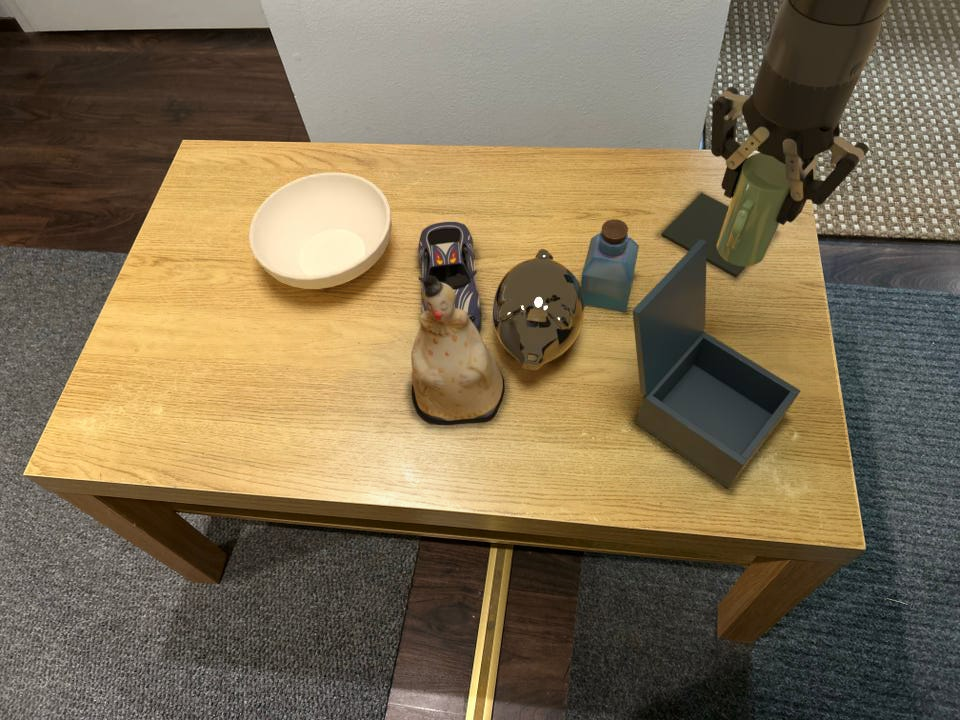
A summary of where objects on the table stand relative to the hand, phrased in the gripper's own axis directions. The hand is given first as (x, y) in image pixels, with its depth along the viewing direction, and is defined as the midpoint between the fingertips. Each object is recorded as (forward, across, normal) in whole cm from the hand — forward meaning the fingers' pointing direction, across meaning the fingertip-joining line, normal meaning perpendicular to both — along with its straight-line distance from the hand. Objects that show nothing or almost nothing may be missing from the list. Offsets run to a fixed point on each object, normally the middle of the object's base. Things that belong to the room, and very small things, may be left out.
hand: (757, 204), depth 69 cm
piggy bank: (+23, +16, +15) cm, 32 cm away
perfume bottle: (+23, +14, +3) cm, 27 cm away
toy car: (+23, +31, +16) cm, 42 cm away
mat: (+23, +8, -15) cm, 28 cm away
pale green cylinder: (+6, 0, 0) cm, 6 cm away
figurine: (+23, +19, +27) cm, 40 cm away
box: (+23, -7, +11) cm, 26 cm away
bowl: (+23, +48, +22) cm, 58 cm away
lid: (+9, +1, +11) cm, 14 cm away
